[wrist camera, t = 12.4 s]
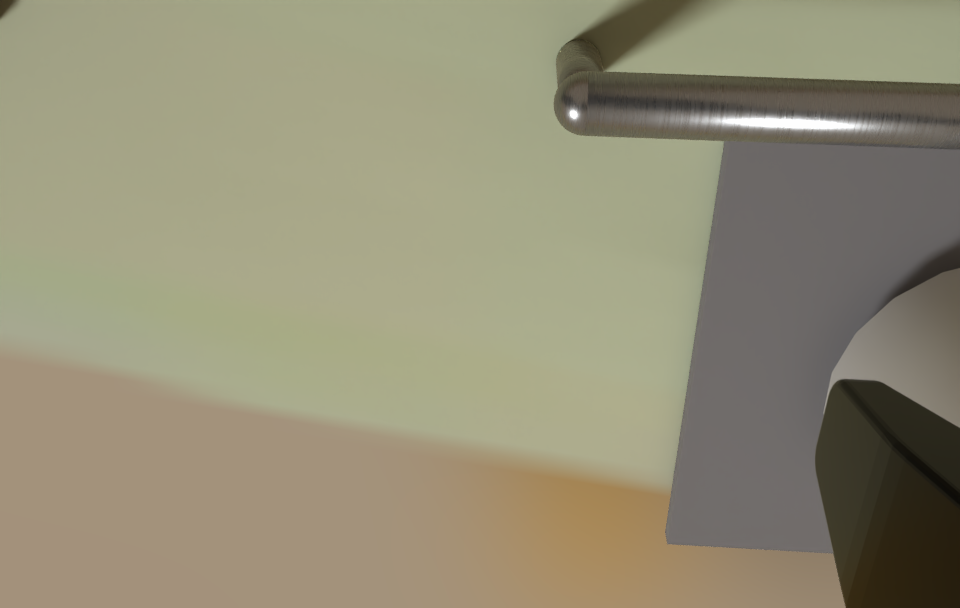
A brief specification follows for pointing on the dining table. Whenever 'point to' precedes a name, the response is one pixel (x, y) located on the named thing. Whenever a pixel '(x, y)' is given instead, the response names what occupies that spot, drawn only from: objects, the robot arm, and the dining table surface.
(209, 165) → the dining table surface
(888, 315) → the can
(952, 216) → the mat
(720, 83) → the rail
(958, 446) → the robot arm
